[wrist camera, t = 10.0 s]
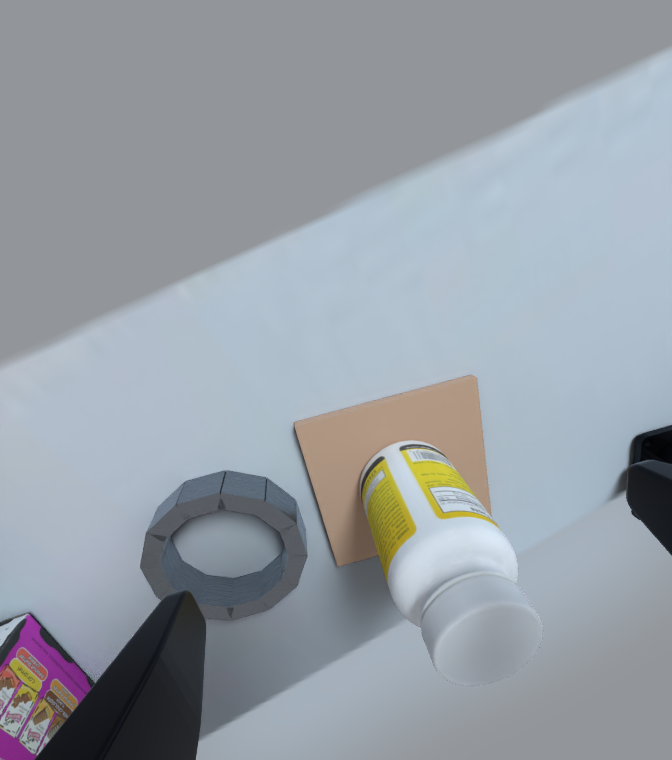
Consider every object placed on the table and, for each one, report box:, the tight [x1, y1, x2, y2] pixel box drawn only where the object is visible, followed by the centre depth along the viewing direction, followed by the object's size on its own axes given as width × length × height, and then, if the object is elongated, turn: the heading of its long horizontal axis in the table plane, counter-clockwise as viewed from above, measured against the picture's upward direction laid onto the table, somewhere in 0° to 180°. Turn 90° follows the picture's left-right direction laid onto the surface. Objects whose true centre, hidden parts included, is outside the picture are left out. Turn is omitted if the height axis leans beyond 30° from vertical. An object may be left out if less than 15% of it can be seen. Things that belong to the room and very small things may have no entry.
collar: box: [140, 471, 307, 620], centre depth 22 cm, size 8×8×2 cm
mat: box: [294, 375, 492, 567], centre depth 22 cm, size 10×10×1 cm
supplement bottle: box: [360, 440, 543, 686], centre depth 18 cm, size 5×5×10 cm
